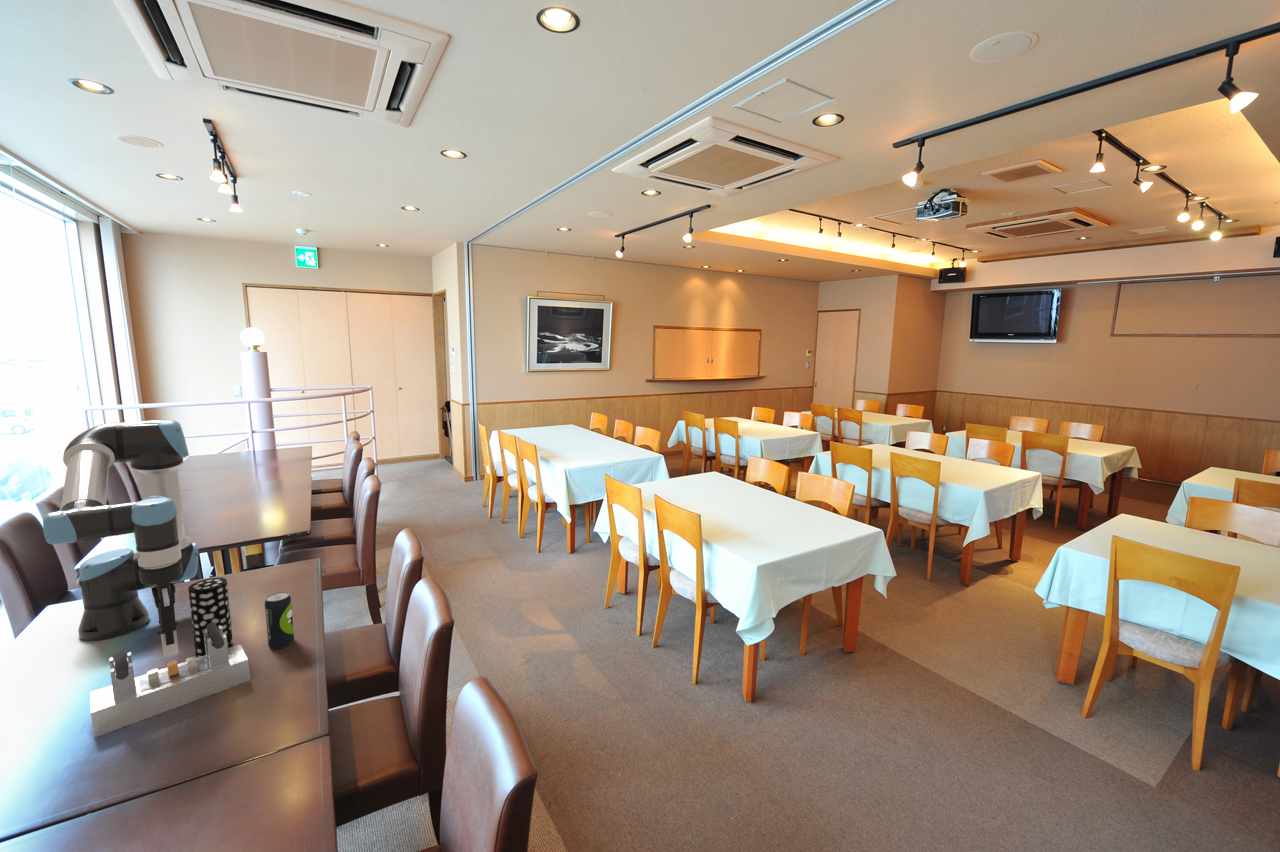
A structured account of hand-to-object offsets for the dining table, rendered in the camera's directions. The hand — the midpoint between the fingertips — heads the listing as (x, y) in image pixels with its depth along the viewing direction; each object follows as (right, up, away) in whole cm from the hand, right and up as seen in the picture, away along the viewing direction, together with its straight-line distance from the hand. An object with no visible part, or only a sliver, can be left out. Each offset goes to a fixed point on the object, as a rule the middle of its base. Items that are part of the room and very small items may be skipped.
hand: (171, 654), depth 125 cm
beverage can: (+10, -8, +25) cm, 28 cm away
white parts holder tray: (0, -11, +2) cm, 11 cm away
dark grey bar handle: (-6, 0, -6) cm, 9 cm away
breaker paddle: (0, -5, +1) cm, 5 cm away
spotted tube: (-7, -8, +22) cm, 24 cm away
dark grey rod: (+6, +1, +6) cm, 9 cm away
